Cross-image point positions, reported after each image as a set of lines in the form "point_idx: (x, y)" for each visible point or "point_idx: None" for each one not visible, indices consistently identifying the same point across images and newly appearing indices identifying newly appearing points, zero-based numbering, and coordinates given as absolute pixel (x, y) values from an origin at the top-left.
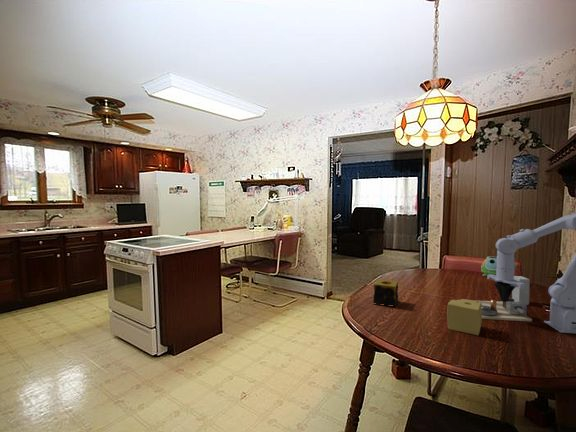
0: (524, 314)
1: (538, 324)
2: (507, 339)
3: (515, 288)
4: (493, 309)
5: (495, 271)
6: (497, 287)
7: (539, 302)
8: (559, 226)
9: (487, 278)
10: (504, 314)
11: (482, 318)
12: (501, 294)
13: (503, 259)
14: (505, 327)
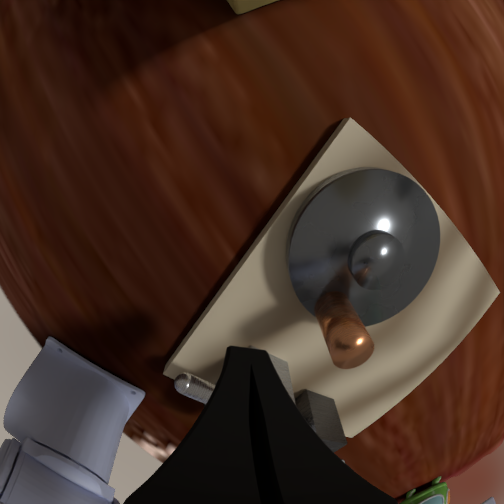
0: None
1: (132, 355)
2: (68, 23)
3: None
4: (325, 295)
5: (420, 499)
6: (330, 483)
7: None
8: None
9: (492, 501)
10: (270, 324)
11: (321, 149)
12: (259, 408)
13: None
14: (154, 151)
